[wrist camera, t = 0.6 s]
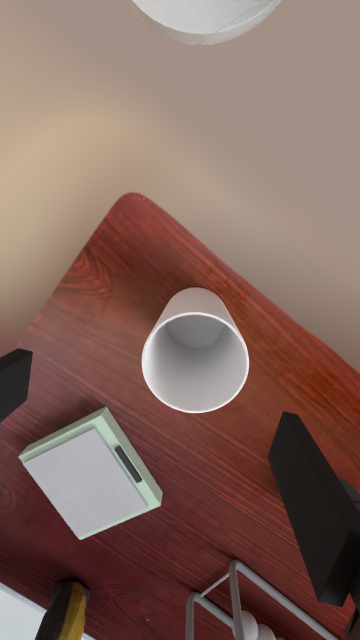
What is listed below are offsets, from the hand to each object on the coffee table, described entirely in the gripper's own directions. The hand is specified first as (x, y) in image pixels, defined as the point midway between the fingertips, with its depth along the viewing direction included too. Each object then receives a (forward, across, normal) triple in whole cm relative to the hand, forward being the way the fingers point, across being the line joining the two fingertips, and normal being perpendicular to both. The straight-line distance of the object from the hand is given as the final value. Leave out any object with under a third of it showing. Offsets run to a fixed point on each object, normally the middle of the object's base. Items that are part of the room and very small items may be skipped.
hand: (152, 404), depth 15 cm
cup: (+24, +2, 0) cm, 24 cm away
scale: (+24, -7, -26) cm, 36 cm away
